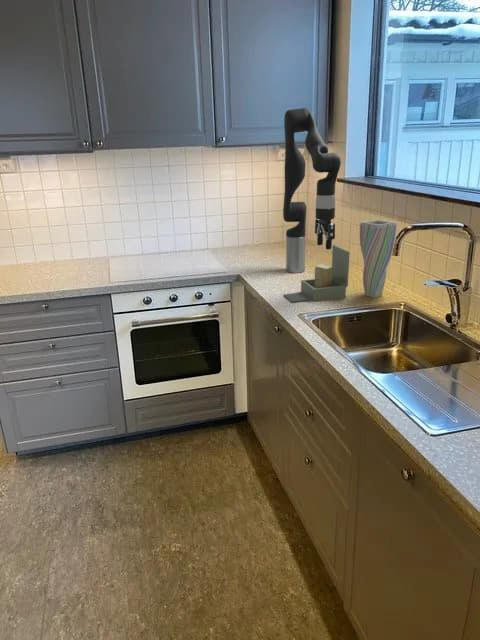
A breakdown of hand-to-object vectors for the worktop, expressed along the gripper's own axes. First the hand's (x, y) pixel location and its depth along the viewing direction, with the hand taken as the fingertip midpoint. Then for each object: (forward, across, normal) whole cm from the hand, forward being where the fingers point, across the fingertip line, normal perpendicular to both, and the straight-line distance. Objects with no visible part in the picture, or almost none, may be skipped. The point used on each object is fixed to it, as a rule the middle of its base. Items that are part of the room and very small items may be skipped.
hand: (324, 247), depth 200 cm
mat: (+20, +1, -12) cm, 23 cm away
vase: (+20, +8, +19) cm, 29 cm away
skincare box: (+20, 0, 0) cm, 20 cm away
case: (+20, 0, 0) cm, 20 cm away
